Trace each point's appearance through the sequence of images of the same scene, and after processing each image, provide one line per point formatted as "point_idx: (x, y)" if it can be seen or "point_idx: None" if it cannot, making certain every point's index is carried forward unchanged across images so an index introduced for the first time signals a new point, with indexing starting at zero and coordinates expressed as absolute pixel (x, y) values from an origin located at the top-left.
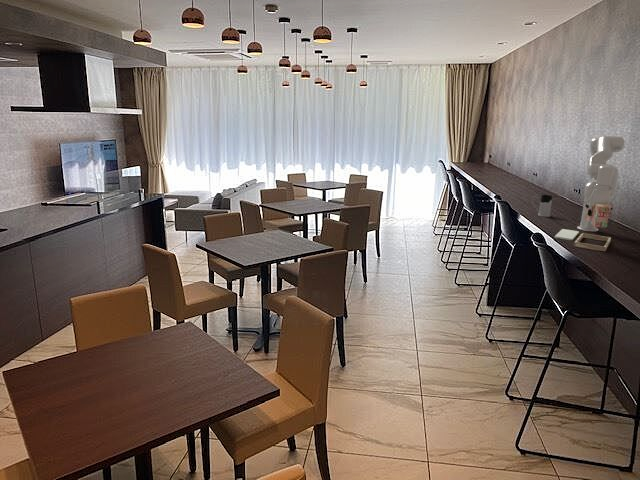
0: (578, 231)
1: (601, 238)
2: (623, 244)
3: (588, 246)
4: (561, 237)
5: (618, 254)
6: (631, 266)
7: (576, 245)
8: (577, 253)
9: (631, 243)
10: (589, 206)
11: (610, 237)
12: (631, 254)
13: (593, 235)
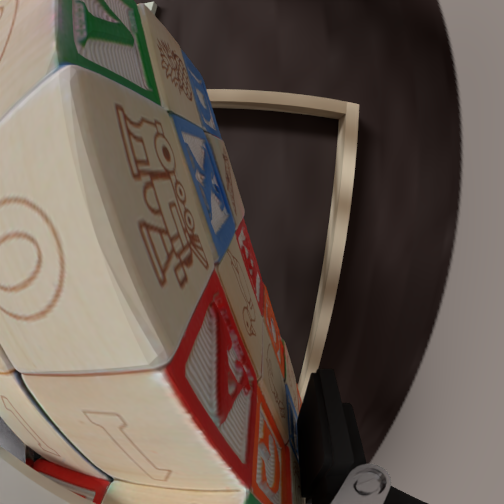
0: (149, 7)
1: (294, 109)
2: (418, 155)
3: None
4: None
5: (355, 400)
6: None
7: None
8: None
9: (449, 104)
10: (3, 431)
11: (354, 107)
12: (410, 367)
13: (235, 101)
